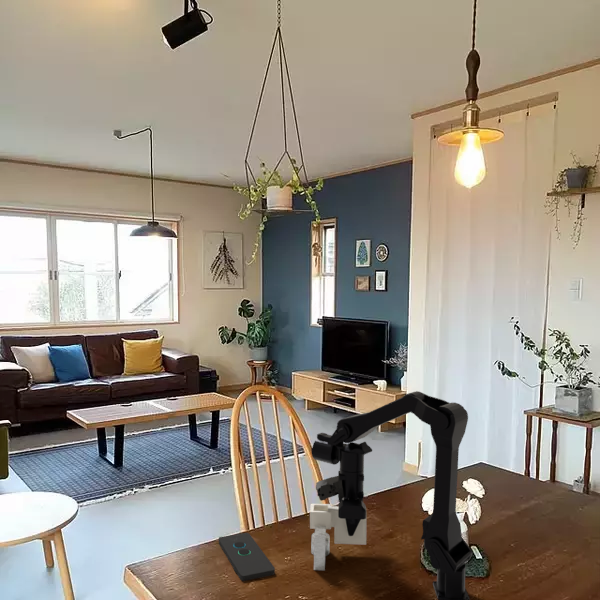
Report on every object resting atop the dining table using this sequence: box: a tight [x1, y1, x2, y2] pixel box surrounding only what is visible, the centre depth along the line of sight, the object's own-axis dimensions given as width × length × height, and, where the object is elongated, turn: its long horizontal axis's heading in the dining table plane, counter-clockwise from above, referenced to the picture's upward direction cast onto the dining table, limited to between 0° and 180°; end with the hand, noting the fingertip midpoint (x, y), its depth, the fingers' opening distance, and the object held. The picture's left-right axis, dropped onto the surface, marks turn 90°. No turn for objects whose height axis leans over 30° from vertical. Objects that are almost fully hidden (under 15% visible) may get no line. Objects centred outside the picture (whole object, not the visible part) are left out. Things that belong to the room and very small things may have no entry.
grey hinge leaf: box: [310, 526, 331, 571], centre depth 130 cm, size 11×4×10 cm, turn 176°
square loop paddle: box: [309, 503, 367, 546], centre depth 133 cm, size 5×13×8 cm, turn 86°
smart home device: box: [218, 532, 276, 582], centre depth 130 cm, size 8×2×20 cm
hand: (350, 532), depth 133 cm, fingers closed on square loop paddle, 2 cm apart
